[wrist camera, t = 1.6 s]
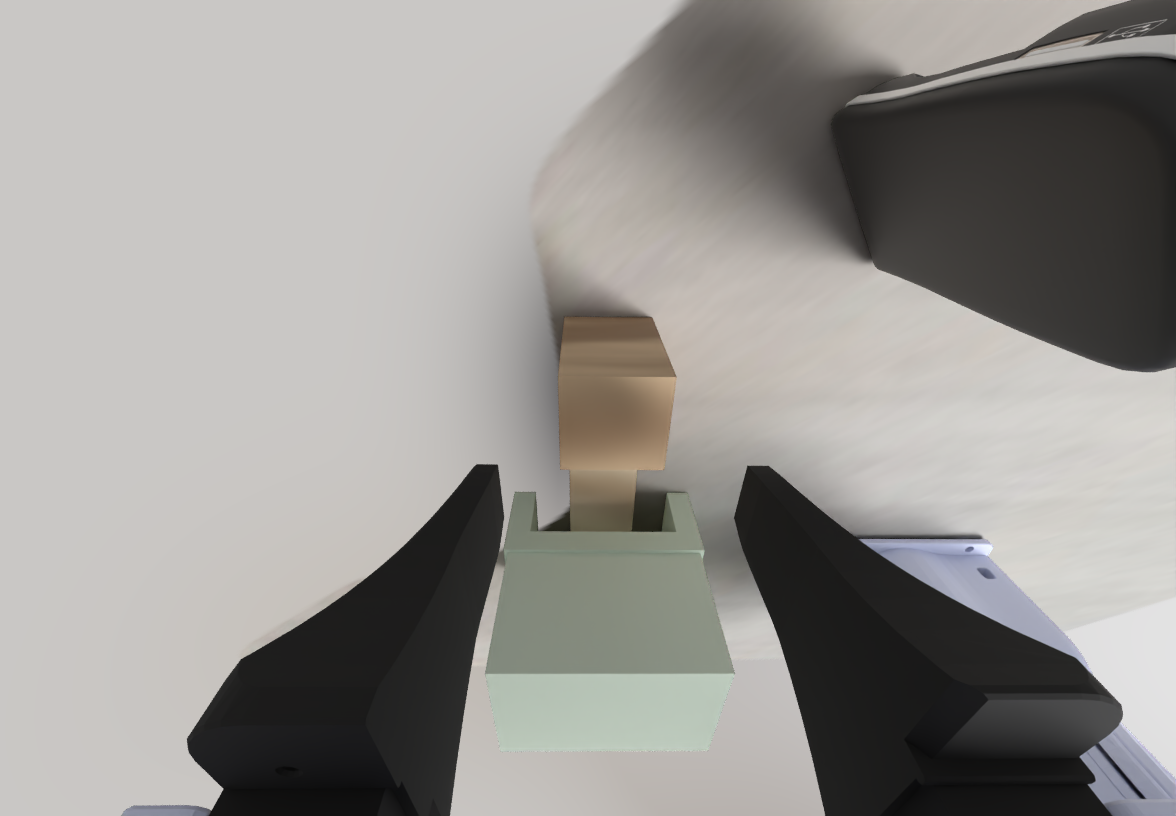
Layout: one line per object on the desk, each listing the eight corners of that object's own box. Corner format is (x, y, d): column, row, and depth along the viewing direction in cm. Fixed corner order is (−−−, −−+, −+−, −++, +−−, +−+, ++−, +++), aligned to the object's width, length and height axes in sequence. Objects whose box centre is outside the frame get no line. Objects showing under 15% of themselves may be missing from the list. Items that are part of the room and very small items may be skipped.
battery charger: (966, 222, 18) (1434, 314, 8) (872, 274, 19) (1183, 412, 9) (931, 38, 15) (1612, -176, 5) (820, 112, 16) (1205, 57, 6)
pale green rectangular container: (514, 491, 25) (478, 671, 16) (687, 492, 25) (740, 670, 17) (522, 574, 29) (496, 756, 20) (673, 575, 29) (710, 755, 20)
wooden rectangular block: (564, 316, 20) (557, 376, 15) (652, 317, 20) (676, 376, 15) (567, 532, 27) (563, 623, 22) (632, 532, 27) (643, 623, 22)
